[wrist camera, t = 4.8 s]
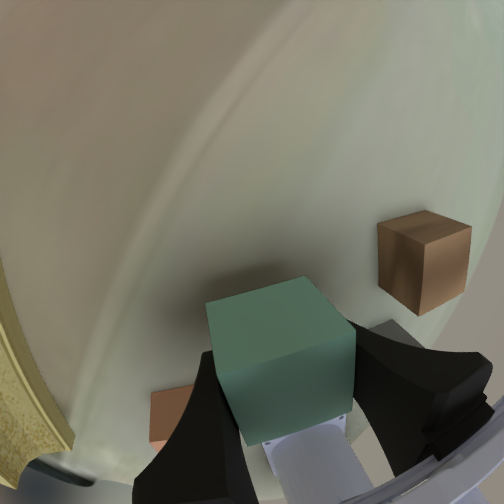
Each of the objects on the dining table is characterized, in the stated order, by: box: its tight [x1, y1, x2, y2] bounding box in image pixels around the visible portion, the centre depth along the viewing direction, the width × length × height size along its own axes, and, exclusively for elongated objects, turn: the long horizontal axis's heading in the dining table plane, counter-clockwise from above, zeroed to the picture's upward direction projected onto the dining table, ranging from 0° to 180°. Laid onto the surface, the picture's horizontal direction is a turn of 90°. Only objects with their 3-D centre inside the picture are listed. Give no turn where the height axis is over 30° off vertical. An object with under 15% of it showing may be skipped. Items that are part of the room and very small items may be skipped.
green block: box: [205, 276, 356, 447], centre depth 11 cm, size 4×4×4 cm
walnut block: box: [377, 210, 472, 317], centre depth 16 cm, size 4×4×4 cm
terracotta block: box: [149, 385, 194, 453], centre depth 17 cm, size 4×4×4 cm
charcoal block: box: [368, 319, 424, 348], centre depth 18 cm, size 4×4×4 cm
